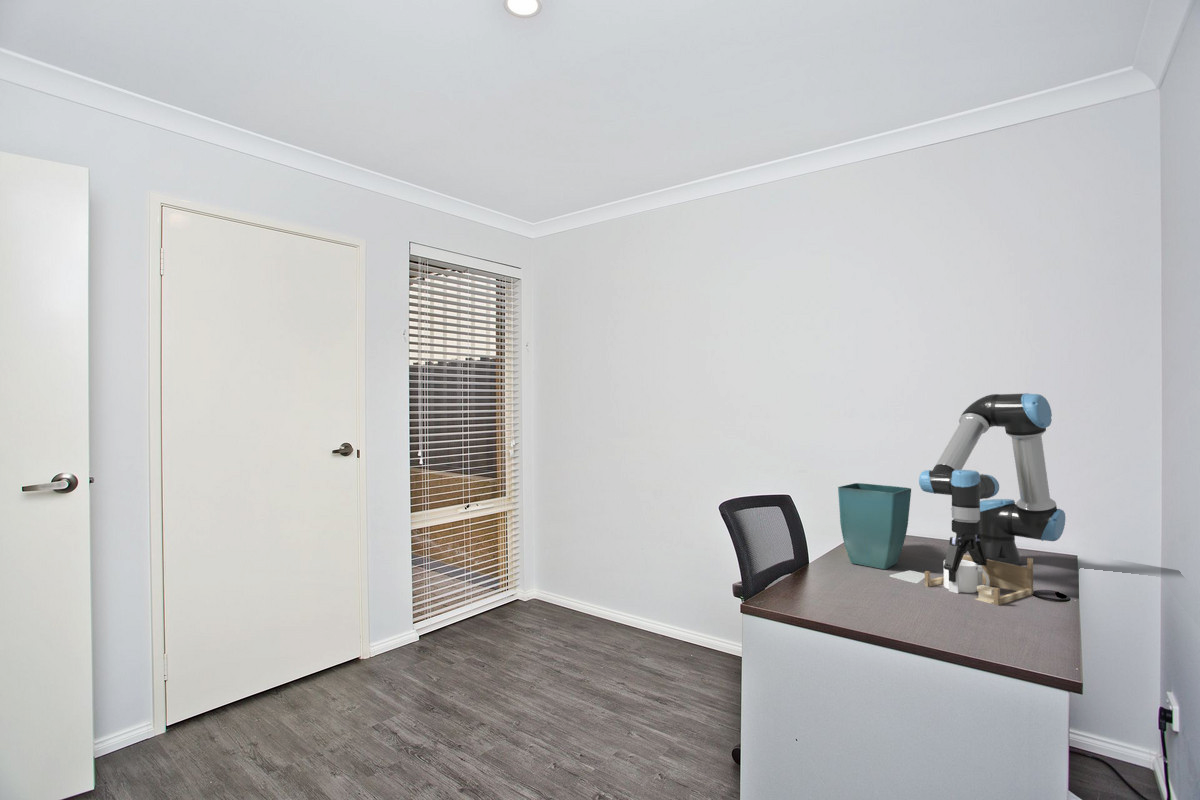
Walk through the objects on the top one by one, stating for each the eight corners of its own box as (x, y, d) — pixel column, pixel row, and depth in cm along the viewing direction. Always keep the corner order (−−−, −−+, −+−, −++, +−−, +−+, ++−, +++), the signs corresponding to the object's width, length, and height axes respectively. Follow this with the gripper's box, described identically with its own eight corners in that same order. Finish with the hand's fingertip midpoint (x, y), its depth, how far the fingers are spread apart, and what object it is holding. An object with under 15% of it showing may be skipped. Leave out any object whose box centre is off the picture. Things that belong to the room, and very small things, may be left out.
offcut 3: (983, 602, 175) (983, 596, 176) (1000, 607, 172) (1000, 600, 172) (974, 605, 173) (974, 598, 173) (991, 610, 169) (991, 603, 169)
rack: (961, 581, 196) (960, 544, 196) (1033, 598, 178) (1033, 558, 178) (924, 590, 185) (924, 552, 186) (997, 610, 167) (997, 567, 168)
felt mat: (910, 571, 207) (910, 570, 207) (945, 580, 197) (945, 578, 197) (889, 576, 201) (889, 574, 201) (924, 585, 191) (924, 583, 191)
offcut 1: (976, 591, 174) (976, 586, 174) (982, 589, 175) (982, 584, 175) (991, 594, 170) (991, 589, 170) (996, 593, 172) (996, 588, 172)
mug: (941, 593, 183) (941, 563, 183) (945, 586, 190) (945, 557, 190) (987, 601, 176) (987, 569, 176) (990, 593, 183) (990, 563, 183)
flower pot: (912, 563, 218) (912, 487, 219) (895, 574, 204) (895, 492, 204) (856, 554, 232) (856, 482, 232) (837, 564, 217) (837, 487, 218)
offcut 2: (979, 596, 175) (979, 589, 175) (996, 599, 173) (996, 592, 173) (978, 599, 172) (978, 592, 172) (994, 602, 170) (994, 595, 170)
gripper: (974, 514, 193) (974, 580, 193) (930, 521, 180) (930, 591, 180) (999, 518, 187) (999, 586, 186) (956, 525, 174) (956, 598, 173)
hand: (965, 589), depth 183 cm, fingers open, 13 cm apart
